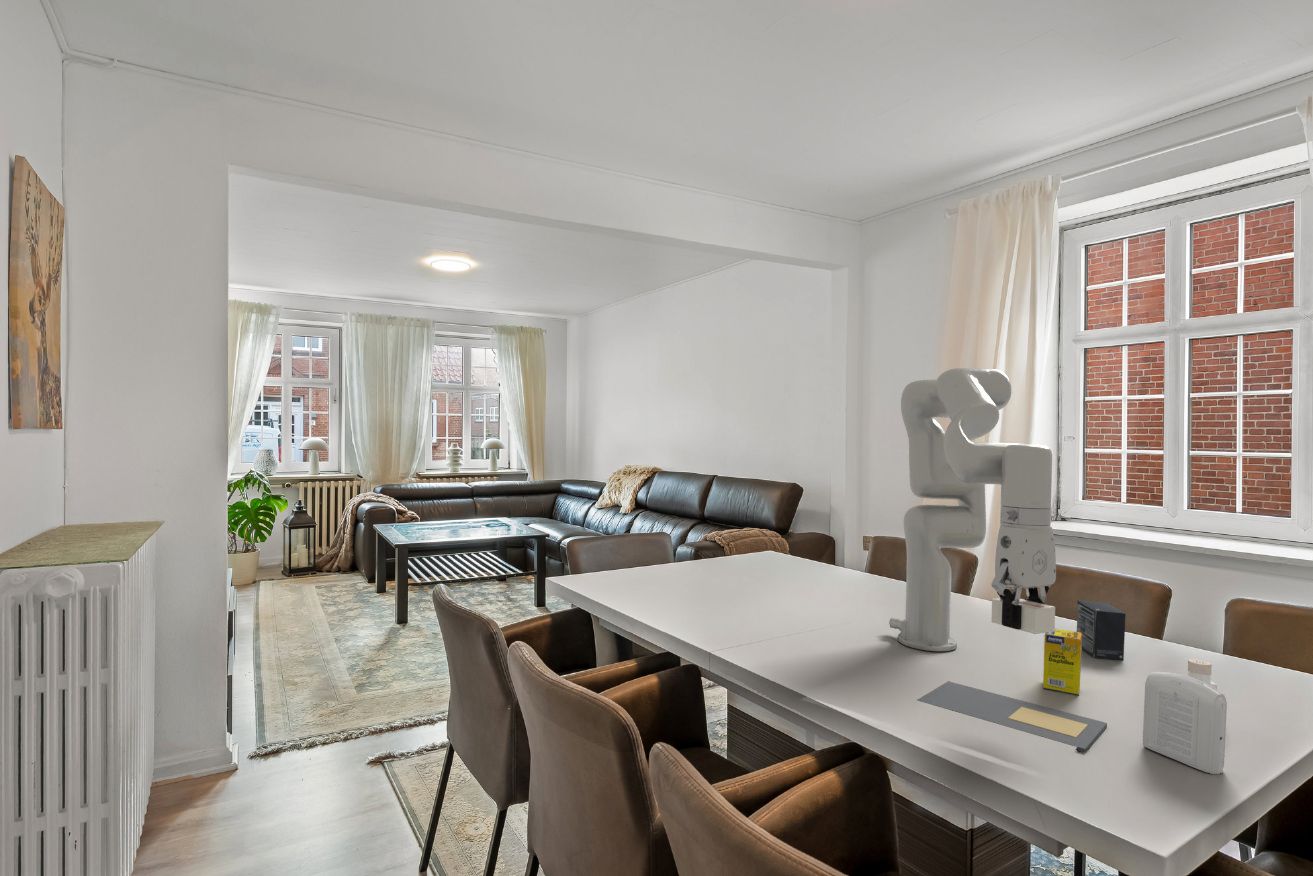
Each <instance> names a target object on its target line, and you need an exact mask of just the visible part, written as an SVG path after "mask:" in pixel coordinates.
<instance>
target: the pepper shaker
mask: <svg viewBox="0 0 1313 876" xmlns="http://www.w3.org/2000/svg"><path fill="white" fill-rule="evenodd" d="M1187 672H1188V675H1187V676H1188V677H1191V678H1194V679H1197V680H1199V681H1202V682H1204V683H1206V684H1208V685H1210V686H1212V687H1213V688H1215V689H1217V690H1218V684H1216V683H1215V682H1213V681H1212V680H1211V676H1212V663H1211V662H1209V661H1206V660H1202V659H1197V658H1190V659H1188V660H1187Z"/></svg>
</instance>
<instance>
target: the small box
mask: <svg viewBox="0 0 1313 876" xmlns="http://www.w3.org/2000/svg"><path fill="white" fill-rule="evenodd" d="M1126 615H1127V613H1126V612H1125V611H1123V610H1121V609H1118V608H1117V607H1115V606H1113V605H1111V604H1109V603H1107V602H1101V601H1090V600H1081V599H1078V600H1077V617H1076V632H1080V633H1082V649H1081V650H1083V651H1084V652H1086V653H1087V654H1088V655H1089V656H1091V658H1094V659H1095V658H1097V659H1108V660H1117V661H1118V660H1121V661H1124V659H1125V639H1126V638H1125V637H1126V636H1125V634H1126Z"/></svg>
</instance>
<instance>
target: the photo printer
mask: <svg viewBox="0 0 1313 876" xmlns="http://www.w3.org/2000/svg"><path fill="white" fill-rule="evenodd" d="M1143 700H1144V701H1143V703H1144V705H1143V726H1142V745H1143V747H1145V748H1147V749H1149V750H1151V751H1153V752H1155V753H1158V754H1159V755H1163V756H1166V757H1167V758H1170V759H1173V760H1175V761H1178V762H1180V763H1183V764H1185V765H1187V766H1189V767H1192V768H1195V769H1197V770H1199V771H1202V772H1205V773H1207V774H1209V773H1210V775H1220V773H1221V774H1222V773H1223V772H1224V771H1223V770H1224V768H1225V757H1226V755H1225V753H1226V735H1227V734H1226V732H1227V714H1228V713H1227V709H1228V707H1227V705H1228V702H1227V698H1226V696H1225V694H1224V693H1222V692H1221V691H1220V690H1218V688H1217V689H1215V688H1213V687H1212V686H1210V685H1208V684H1206V683H1204V682H1202V681H1199V680H1197V679H1194V678H1191V677H1188V675H1185V674H1180V673H1175V672H1167V671H1165V672H1164V671H1154V672H1149V674H1148V675H1147V677H1146V681H1145V684H1144V699H1143Z"/></svg>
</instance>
